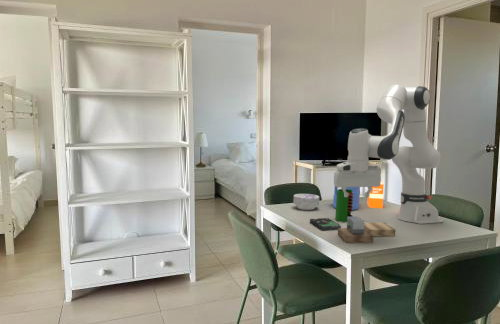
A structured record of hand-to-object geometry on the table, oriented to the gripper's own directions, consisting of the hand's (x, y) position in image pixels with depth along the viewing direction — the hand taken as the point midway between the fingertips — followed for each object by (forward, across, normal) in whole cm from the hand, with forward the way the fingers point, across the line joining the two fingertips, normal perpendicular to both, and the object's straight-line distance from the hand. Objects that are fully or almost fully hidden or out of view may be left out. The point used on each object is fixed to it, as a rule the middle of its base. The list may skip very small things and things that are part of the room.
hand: (356, 196), depth 167 cm
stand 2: (+19, -14, -9) cm, 25 cm away
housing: (+16, 0, 0) cm, 16 cm away
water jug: (+20, -15, -60) cm, 65 cm away
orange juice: (+20, -34, -63) cm, 74 cm away
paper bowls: (+20, +10, -58) cm, 62 cm away
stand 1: (+19, 0, 0) cm, 19 cm away
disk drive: (+20, +9, -20) cm, 29 cm away
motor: (+20, -5, -32) cm, 38 cm away
